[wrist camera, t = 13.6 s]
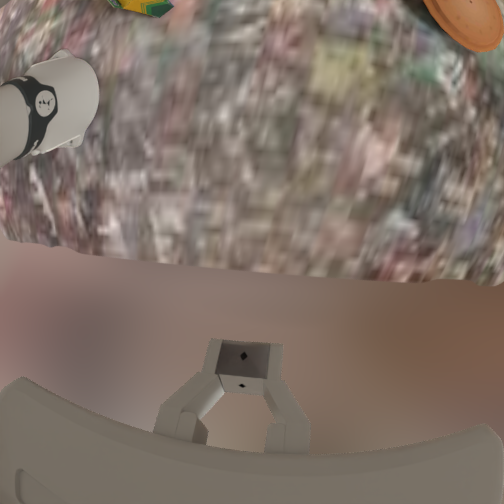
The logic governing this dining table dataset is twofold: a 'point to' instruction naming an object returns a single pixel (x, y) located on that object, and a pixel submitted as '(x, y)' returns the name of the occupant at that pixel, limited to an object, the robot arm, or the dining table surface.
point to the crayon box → (144, 6)
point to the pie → (469, 22)
